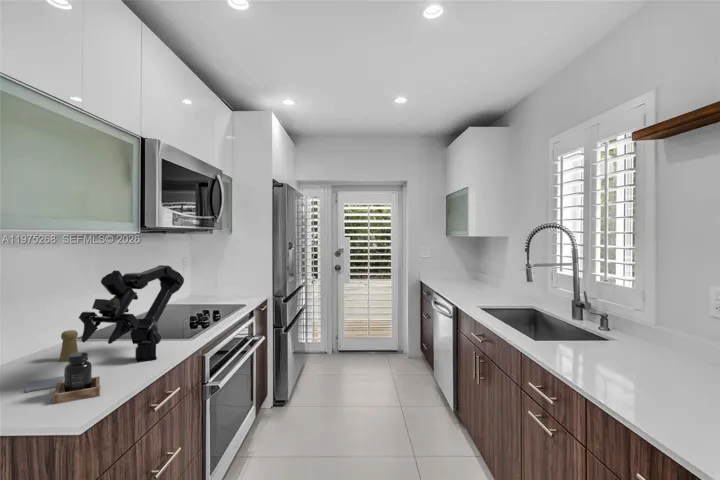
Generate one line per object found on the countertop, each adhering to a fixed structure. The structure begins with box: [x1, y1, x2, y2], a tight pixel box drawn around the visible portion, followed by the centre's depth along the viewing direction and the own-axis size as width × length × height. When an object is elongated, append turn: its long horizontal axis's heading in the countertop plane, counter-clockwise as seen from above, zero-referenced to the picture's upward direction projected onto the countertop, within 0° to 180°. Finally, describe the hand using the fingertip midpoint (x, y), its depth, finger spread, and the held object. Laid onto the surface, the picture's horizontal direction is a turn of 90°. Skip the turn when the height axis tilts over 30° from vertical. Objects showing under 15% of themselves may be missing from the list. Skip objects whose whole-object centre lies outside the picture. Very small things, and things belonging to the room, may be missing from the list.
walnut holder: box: [53, 375, 101, 405], centre depth 119 cm, size 11×11×2 cm
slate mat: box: [24, 376, 64, 393], centre depth 125 cm, size 9×9×1 cm
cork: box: [59, 329, 79, 363], centre depth 150 cm, size 6×6×11 cm
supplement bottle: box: [63, 352, 93, 393], centre depth 119 cm, size 7×7×12 cm
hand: (95, 342), depth 127 cm, fingers open, 9 cm apart
